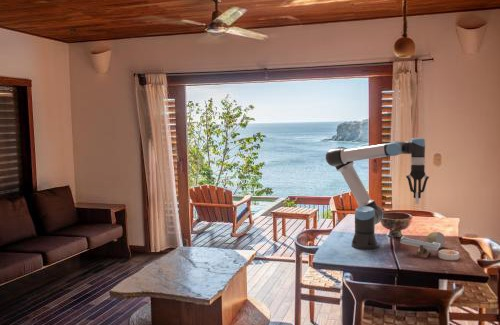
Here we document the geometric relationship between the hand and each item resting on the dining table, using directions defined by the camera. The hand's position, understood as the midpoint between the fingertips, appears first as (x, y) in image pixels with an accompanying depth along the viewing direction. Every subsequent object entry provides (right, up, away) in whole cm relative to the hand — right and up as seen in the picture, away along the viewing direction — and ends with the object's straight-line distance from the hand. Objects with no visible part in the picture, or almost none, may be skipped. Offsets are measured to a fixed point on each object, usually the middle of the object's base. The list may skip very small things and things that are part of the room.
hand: (417, 203), depth 274 cm
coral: (+12, -26, +3) cm, 29 cm away
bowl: (+10, -28, -19) cm, 36 cm away
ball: (+11, -26, -20) cm, 34 cm away
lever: (-2, -23, -9) cm, 25 cm away
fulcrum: (-1, -28, -13) cm, 30 cm away
